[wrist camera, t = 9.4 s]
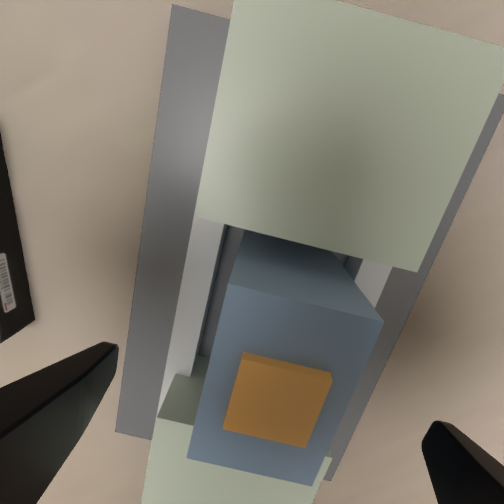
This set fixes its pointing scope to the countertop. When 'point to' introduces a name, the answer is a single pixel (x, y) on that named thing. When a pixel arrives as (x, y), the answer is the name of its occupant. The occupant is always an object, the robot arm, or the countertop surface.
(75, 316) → the countertop surface
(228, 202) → the rail base
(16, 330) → the disk drive
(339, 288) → the module
